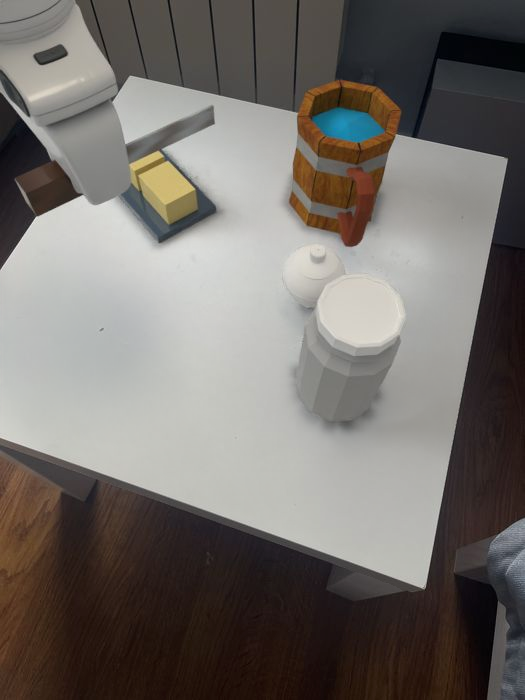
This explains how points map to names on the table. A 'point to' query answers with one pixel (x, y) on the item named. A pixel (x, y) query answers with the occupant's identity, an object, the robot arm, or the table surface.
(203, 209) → the butter dish
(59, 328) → the table surface
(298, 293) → the spinning top
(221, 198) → the table surface
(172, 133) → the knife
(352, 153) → the mug
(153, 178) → the butter block
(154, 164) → the block
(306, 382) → the jar
